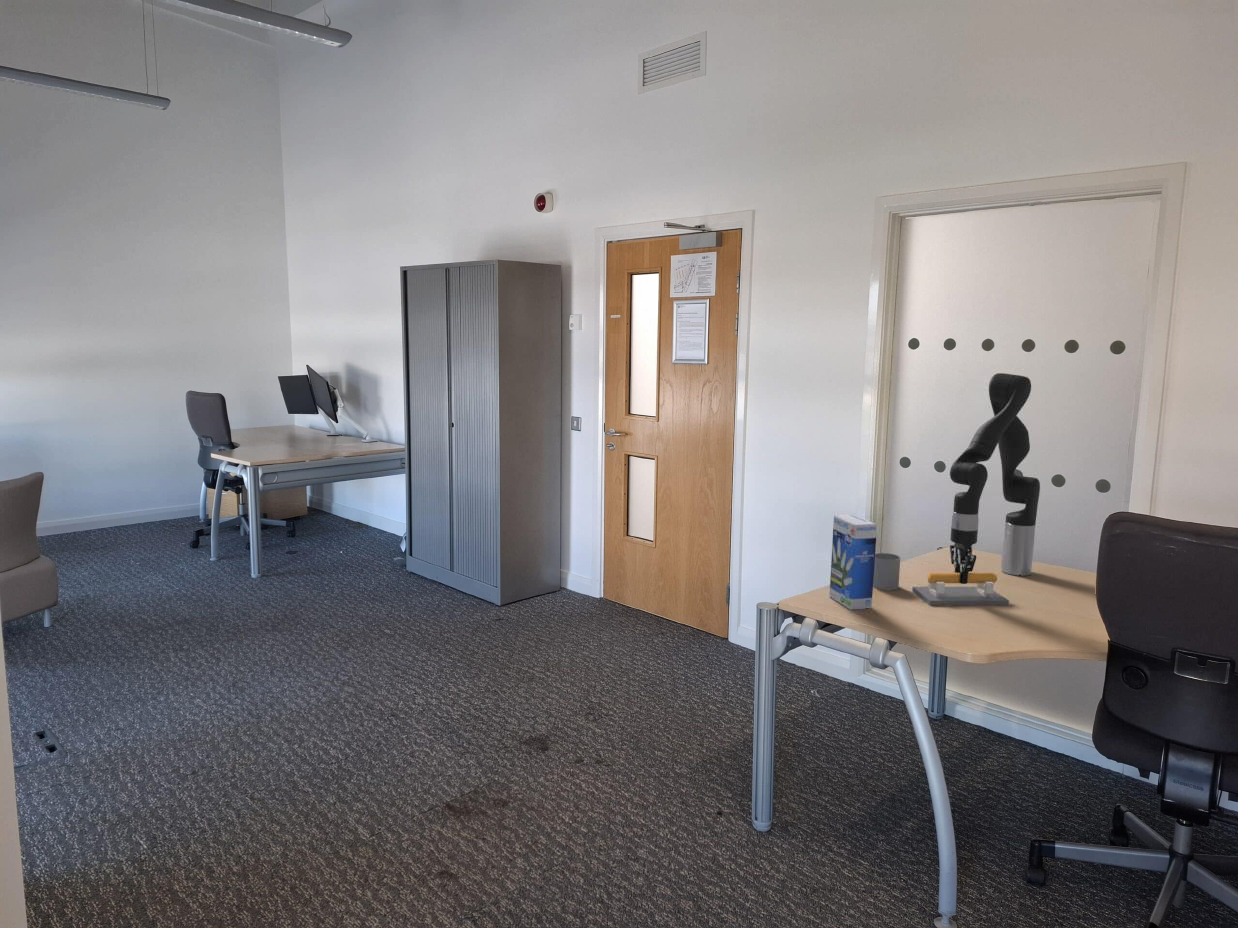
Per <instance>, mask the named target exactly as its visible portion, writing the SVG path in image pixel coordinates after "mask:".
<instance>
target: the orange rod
mask: <svg viewBox="0 0 1238 928" xmlns="http://www.w3.org/2000/svg"><path fill="white" fill-rule="evenodd" d="M959 580H960V573H955V572H929V573H928V574H927V583H928V582H929V583H936V582H944V583H945V584H961V583H960V582H959ZM997 581H998V576H997V575H996V574H995V573H994V572H968V582H967V584H975V583H984V584H985V582H993V583H994V584H995V583H996V582H997Z"/></svg>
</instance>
